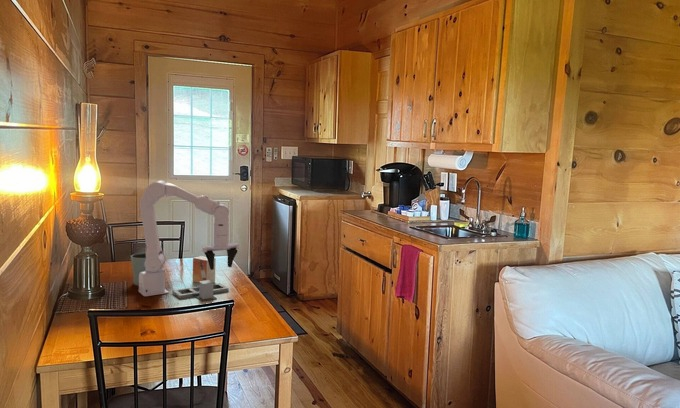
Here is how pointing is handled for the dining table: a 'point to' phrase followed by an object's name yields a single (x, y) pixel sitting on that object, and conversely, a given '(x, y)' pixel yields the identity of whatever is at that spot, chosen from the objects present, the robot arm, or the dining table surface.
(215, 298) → the pad
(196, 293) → the grey slotted plate
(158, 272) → the robot arm
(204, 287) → the block
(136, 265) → the green bin
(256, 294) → the dining table surface
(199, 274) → the small box
